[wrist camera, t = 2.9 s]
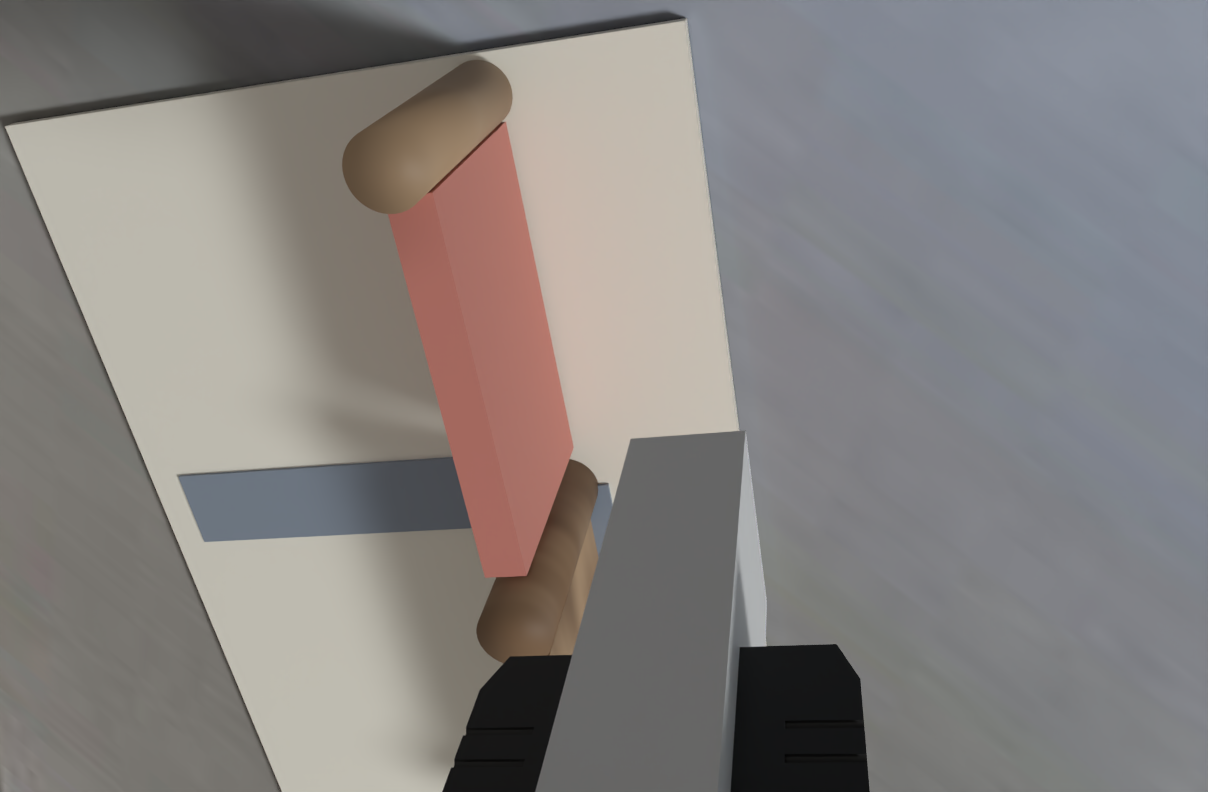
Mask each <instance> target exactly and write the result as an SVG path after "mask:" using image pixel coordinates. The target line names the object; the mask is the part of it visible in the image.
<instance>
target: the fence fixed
mask: <svg viewBox="0 0 1208 792" xmlns="http://www.w3.org/2000/svg"><path fill="white" fill-rule="evenodd" d="M597 496H598V481H597V479H596V477H595V475H594V473H593V472H592V471H591V470H590V469H589V468H588V467H587V466H585V465H584V464H582V463H580V462H578V461H575V460H572V459H569V462H568V465H567V467H566V470H565V473H564V476H563V478H562V481H561V484H560V486H559V489H558V492H557V495H556V497H555V500H554V503H553V506H552V508H551V511H550V514H549V516H548V519H547V522H546V525H545V527H544V530H543V533H542V536H541V538H540V541H539V544H538V546H537V549H536V552H535V555H534V557H533V560H532V563H531V566H530V568H529V571H528V574H527V576H515V577H496V579H495V581H494V584H493V586H492V589H491V591H490V594H489V596H488V599H487V601H486V603H485V606H484V608H483V611H482V613H481V616H480V618H479V621H478V623H477V628H476V634H477V638H478V641H479V643H480V645H481V647H482V648H483V649H484V650H485V652H486V653H487V654H489V655H490V656H491V657H492V658H494V659H496V660H497V661H499V662H501V663H504V662H505V661H506V660H507V659H508V658H509V657H510V656H545V655H572V654H573V650H574V647H575V643H576V639H577V635H578V632H579V628H580V624H581V621H582V617H583V613H584V610H585V606H586V602H587V598H588V595H589V591H590V587H591V584H592V580H593V576H594V573H595V569H596V565H597V561H598V558H599V557H598V552H597V547H596V543H595V538H594V533H593V528H592V523H591V516H592V513H593V509H594V506H595V503H596V499H597Z"/></svg>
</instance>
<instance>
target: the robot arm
mask: <svg viewBox="0 0 1208 792" xmlns="http://www.w3.org/2000/svg"><path fill="white" fill-rule="evenodd" d="M766 613H767V599H766V591H765V583H764V575H763V567H762V559H761V551H760V543H759V535H758V527H757V519H756V511H755V503H754V495H753V486H752V478H751V470H750V462H749V454H748V446H747V438H746V430H745V431H732V432H718V433H704V434H690V435H676V436H662V437H648V438H634V439H630V443H629V447H628V450H627V454H626V458H625V462H624V465H623V469H622V473H621V476H620V480H619V484H618V487H617V491H616V495H615V499H614V502H613V506H612V510H611V513H610V517H609V521H608V524H607V528H606V532H605V536H604V539H603V543H602V547H601V550H600V554H599V558H598V561H597V565H596V569H595V573H594V576H593V580H592V584H591V587H590V591H589V595H588V598H587V602H586V606H585V610H584V613H583V617H582V621H581V624H580V628H579V632H578V635H577V639H576V643H575V647H574V650H573V654H572V655H545V656H510V657H509V658H508V659H507V660H506V661H505V662H504V663H503V665H502V666H501V667H500V668H499V669H498V670H497V671H496V672H495V673H494V675H493V676H492V677H491V678H490V679H489V680H488V681H487V682H486V683H485V685H484V686H483V687H482V688H481V689H480V690H479V693H478V696H477V699H476V701H475V704H474V707H473V709H472V712H471V715H470V718H469V720H468V723H467V726H466V735H463V737H462V739H461V742H460V745H459V747H458V750H457V753H456V756H455V758H454V767H451V769H450V772H449V775H448V777H447V780H446V783H445V785H444V788H443V791H442V792H870V791H869V779H868V767H867V755H866V743H865V731H864V719H863V707H862V695H861V683H860V678H859V676H858V675H857V674H856V672H855V671H854V669H853V668H852V666H851V665H850V663H849V662H848V660H847V659H846V657H845V656H844V655H843V653H842V652H841V650H840V649H839V647H838V646H837V644H832V645H796V646H765V644H766Z"/></svg>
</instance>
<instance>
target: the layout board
mask: <svg viewBox="0 0 1208 792" xmlns="http://www.w3.org/2000/svg"><path fill="white" fill-rule="evenodd" d="M470 60H483V61H487V62H490V63H492V64H494V65H495V66H497V67H498V68H499V69H500V70H501V71H502V72H503V73H504V74H505V75H506V77H507V79H508V80H509V83H510V85H511V89H512V94H513V100H512V106H511V109H510V112H509V113H508V115H507V117H506V118H505V119H504V120H503V121H502V122H506V124H507V129H508V134H509V139H510V144H511V148H512V153H513V158H514V163H515V168H516V172H517V177H518V182H519V187H520V192H521V196H522V201H523V206H524V211H525V216H526V220H527V225H528V230H529V235H530V240H531V245H532V249H533V254H534V259H535V264H536V269H537V273H538V278H539V283H540V288H541V293H542V297H543V302H544V307H545V312H546V317H547V321H548V326H549V331H550V336H551V341H552V345H553V350H554V355H555V360H556V365H557V369H558V374H559V379H560V384H561V389H562V393H563V398H564V403H565V408H566V413H567V418H568V422H569V427H570V432H571V437H572V442H573V446H574V448H573V451H572V454H571V456H570V459H572V460H575V461H578V462H580V463H582V464H584V465H585V466H587V467H588V468H589V469H590V470H591V471H592V472H593V473H594V475H595V477H596V479H597V481H598V496H597V499H596V503H595V506H594V509H593V513H592V516H591V523H592V528H593V533H594V538H595V543H596V547H597V552H598V557H599V554H600V550H601V547H602V543H603V539H604V536H605V532H606V528H607V524H608V521H609V517H610V513H611V510H612V506H613V502H614V499H615V495H616V491H617V487H618V484H619V480H620V476H621V473H622V469H623V465H624V462H625V458H626V454H627V450H628V447H629V443H630V439H634V438H648V437H662V436H676V435H690V434H704V433H718V432H732V431H739V423H738V416H737V408H736V400H735V392H734V384H733V376H732V369H731V361H730V353H729V345H728V337H727V329H726V322H725V314H724V306H723V298H722V290H721V282H720V275H719V267H718V259H717V251H716V243H715V235H714V228H713V220H712V212H711V204H710V196H709V189H708V181H707V173H706V165H705V157H704V149H703V142H702V134H701V126H700V118H699V110H698V102H697V95H696V87H695V79H694V71H693V63H692V55H691V48H690V40H689V32H688V24H687V18H684V19H677V20H671V21H665V22H658V23H652V24H645V25H639V26H633V27H626V28H620V29H613V30H607V31H600V32H594V33H588V34H581V35H575V36H568V37H562V38H556V39H549V40H543V41H536V42H530V43H523V44H517V45H511V46H504V47H498V48H491V49H485V50H479V51H472V52H466V53H459V54H453V55H446V56H440V57H434V58H427V59H421V60H414V61H408V62H402V63H395V64H389V65H382V66H376V67H369V68H363V69H357V70H350V71H344V72H337V73H331V74H325V75H318V76H312V77H305V78H299V79H292V80H286V81H280V82H273V83H267V84H260V85H254V86H248V87H241V88H235V89H228V90H222V91H215V92H209V93H203V94H196V95H190V96H183V97H177V98H171V99H164V100H158V101H151V102H145V103H139V104H132V105H126V106H119V107H113V108H106V109H100V110H94V111H87V112H81V113H74V114H68V115H62V116H55V117H49V118H42V119H36V120H29V121H23V122H17V123H13V124H10V125H7V126H5V128H6V130H7V133H8V135H9V137H10V140H11V142H12V145H13V147H14V149H15V152H16V154H17V157H18V159H19V162H20V164H21V166H22V169H23V171H24V174H25V176H26V178H27V181H28V183H29V186H30V188H31V190H32V193H33V195H34V198H35V200H36V202H37V205H38V207H39V210H40V212H41V214H42V217H43V219H44V222H45V224H46V226H47V229H48V231H49V234H50V236H51V238H52V241H53V243H54V246H55V248H56V250H57V253H58V255H59V258H60V260H61V262H62V265H63V267H64V270H65V272H66V274H67V277H68V279H69V282H70V284H71V286H72V289H73V291H74V294H75V296H76V298H77V301H78V303H79V306H80V308H81V310H82V313H83V315H84V318H85V320H86V322H87V325H88V327H89V330H90V332H91V334H92V337H93V339H94V342H95V344H96V346H97V349H98V351H99V354H100V356H101V358H102V361H103V363H104V366H105V368H106V370H107V373H108V375H109V378H110V380H111V382H112V385H113V387H114V390H115V392H116V394H117V397H118V399H119V402H120V404H121V406H122V409H123V411H124V414H125V416H126V418H127V421H128V423H129V426H130V428H131V430H132V433H133V435H134V438H135V440H136V442H137V445H138V447H139V450H140V452H141V454H142V457H143V459H144V462H145V464H146V466H147V469H148V471H149V474H150V476H151V479H152V481H153V483H154V486H155V488H156V491H157V493H158V495H159V498H160V500H161V503H162V505H163V507H164V510H165V512H166V515H167V517H168V519H169V522H170V524H171V527H172V529H173V531H174V534H175V536H176V539H177V541H178V543H179V546H180V548H181V551H182V553H183V555H184V558H185V560H186V563H187V565H188V567H189V570H190V572H191V575H192V577H193V579H194V582H195V584H196V587H197V589H198V591H199V594H200V596H201V599H202V601H203V603H204V606H205V608H206V611H207V613H208V615H209V618H210V620H211V623H212V625H213V627H214V630H215V632H216V635H217V637H218V639H219V642H220V644H221V647H222V649H223V651H224V654H225V656H226V659H227V661H228V663H229V666H230V668H231V671H232V673H233V675H234V678H235V680H236V683H237V685H238V687H239V690H240V692H241V695H242V697H243V699H244V702H245V704H246V707H247V709H248V711H249V714H250V716H251V719H252V721H253V723H254V726H255V728H256V731H257V733H258V735H259V738H260V740H261V743H262V745H263V747H264V750H265V752H266V755H267V757H268V759H269V762H270V764H271V767H272V769H273V771H274V774H275V776H276V779H277V781H278V783H279V786H280V788H281V791H282V792H442V791H443V788H444V785H445V783H446V780H447V777H448V775H449V772H450V769H451V767H454V758H455V756H456V753H457V750H458V747H459V745H460V742H461V739H462V737H463V735H466V726H467V723H468V720H469V718H470V715H471V712H472V709H473V707H474V704H475V701H476V699H477V696H478V693H479V690H480V689H481V688H482V687H483V686H484V685H485V683H486V682H487V681H488V680H489V679H490V678H491V677H492V676H493V675H494V673H495V672H496V671H497V670H498V669H499V668H500V667H501V666H502V665H503V663H501V662H499V661H497V660H496V659H494V658H492V657H491V656H490V655H489V654H487V653H486V652H485V650H484V649H483V648H482V647H481V645H480V643H479V641H478V638H477V634H476V628H477V623H478V621H479V618H480V616H481V613H482V611H483V608H484V606H485V603H486V601H487V599H488V596H489V594H490V591H491V589H492V586H493V584H494V581H495V579H496V577H490V578H485V576H484V572H483V568H482V565H481V561H480V557H479V553H478V550H477V546H476V542H475V539H474V535H473V531H472V527H471V524H470V520H469V516H468V512H467V509H466V505H465V501H464V497H463V494H462V490H461V486H460V482H459V479H458V475H457V471H456V467H455V464H454V460H453V456H452V452H451V449H450V445H449V441H448V437H447V434H446V430H445V426H444V423H443V419H442V415H441V411H440V408H439V404H438V400H437V396H436V393H435V389H434V385H433V381H432V378H431V374H430V370H429V366H428V363H427V359H426V355H425V351H424V348H423V344H422V340H421V336H420V333H419V329H418V325H417V321H416V318H415V314H414V310H413V307H412V303H411V299H410V295H409V292H408V288H407V284H406V280H405V277H404V273H403V269H402V265H401V262H400V258H399V254H398V250H397V247H396V243H395V239H394V235H393V232H392V228H391V224H390V220H389V217H388V214H384V213H379V212H376V211H373V210H371V209H369V208H368V207H366V206H364V205H363V204H362V203H360V202H359V201H358V200H357V199H356V198H355V197H354V195H353V194H352V193H351V191H350V190H349V188H348V186H347V184H346V182H345V179H344V176H343V170H342V159H343V154H344V151H345V148H346V146H347V144H348V143H349V141H350V140H351V139H352V138H353V137H354V136H355V135H356V134H358V133H359V132H361V131H362V130H364V129H365V128H367V127H368V126H370V125H371V124H373V123H374V122H376V121H377V120H379V119H380V118H382V117H383V116H385V115H386V114H387V113H389V112H390V111H392V110H393V109H395V108H396V107H398V106H399V105H401V104H402V103H404V102H405V101H407V100H408V99H410V98H411V97H413V96H414V95H416V94H417V93H419V92H420V91H422V90H423V89H425V88H426V87H428V86H429V85H431V84H432V83H434V82H435V81H437V80H438V79H440V78H441V77H443V76H444V75H446V74H447V73H449V72H450V71H452V70H453V69H455V68H456V67H458V66H459V65H461V64H462V63H464V62H467V61H470ZM765 646H767V643H766V644H765Z"/></svg>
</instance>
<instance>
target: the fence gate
mask: <svg viewBox="0 0 1208 792" xmlns="http://www.w3.org/2000/svg"><path fill="white" fill-rule="evenodd" d="M512 100H513V94H512V89H511V85H510V83H509V80H508V79H507V77H506V75H505V74H504V73H503V72H502V71H501V70H500V69H499V68H498V67H497V66H495V65H494V64H492V63H490V62H487V61H483V60H470V61H467V62H464V63H462V64H461V65H459V66H458V67H456V68H455V69H453V70H452V71H450V72H449V73H447V74H446V75H444V76H443V77H441V78H440V79H438V80H437V81H435V82H434V83H432V84H431V85H429V86H428V87H426V88H425V89H423V90H422V91H420V92H419V93H417V94H416V95H414V96H413V97H411V98H410V99H408V100H407V101H405V102H404V103H402V104H401V105H399V106H398V107H396V108H395V109H393V110H392V111H390V112H389V113H387V114H386V115H385V116H383V117H382V118H380V119H379V120H377V121H376V122H374V123H373V124H371V125H370V126H368V127H367V128H365V129H364V130H362V131H361V132H359V133H358V134H356V135H355V136H354V137H353V138H352V139H351V140H350V141H349V143H348V144H347V146H346V148H345V151H344V154H343V159H342V170H343V176H344V179H345V182H346V184H347V186H348V188H349V190H350V191H351V193H352V194H353V195H354V197H355V198H356V199H357V200H358V201H359V202H360V203H362V204H363V205H364V206H366V207H368V208H369V209H371V210H373V211H376V212H379V213H384V214H388V217H389V220H390V224H391V228H392V232H393V235H394V239H395V243H396V247H397V250H398V254H399V258H400V262H401V265H402V269H403V273H404V277H405V280H406V284H407V288H408V292H409V295H410V299H411V303H412V307H413V310H414V314H415V318H416V321H417V325H418V329H419V333H420V336H421V340H422V344H423V348H424V351H425V355H426V359H427V363H428V366H429V370H430V374H431V378H432V381H433V385H434V389H435V393H436V396H437V400H438V404H439V408H440V411H441V415H442V419H443V423H444V426H445V430H446V434H447V437H448V441H449V445H450V449H451V452H452V456H453V460H454V464H455V467H456V471H457V475H458V479H459V482H460V486H461V490H462V494H463V497H464V501H465V505H466V509H467V512H468V516H469V520H470V524H471V527H472V531H473V535H474V539H475V542H476V546H477V550H478V553H479V557H480V561H481V565H482V568H483V572H484V576H485V578H490V577H515V576H527V574H528V571H529V568H530V566H531V563H532V560H533V557H534V555H535V552H536V549H537V546H538V544H539V541H540V538H541V536H542V533H543V530H544V527H545V525H546V522H547V519H548V516H549V514H550V511H551V508H552V506H553V503H554V500H555V497H556V495H557V492H558V489H559V486H560V484H561V481H562V478H563V476H564V473H565V470H566V467H567V465H568V462H569V459H570V456H571V454H572V451H573V448H574V446H573V442H572V437H571V432H570V427H569V422H568V418H567V413H566V408H565V403H564V398H563V393H562V389H561V384H560V379H559V374H558V369H557V365H556V360H555V355H554V350H553V345H552V341H551V336H550V331H549V326H548V321H547V317H546V312H545V307H544V302H543V297H542V293H541V288H540V283H539V278H538V273H537V269H536V264H535V259H534V254H533V249H532V245H531V240H530V235H529V230H528V225H527V220H526V216H525V211H524V206H523V201H522V196H521V192H520V187H519V182H518V177H517V172H516V168H515V163H514V158H513V153H512V148H511V144H510V139H509V134H508V129H507V124H506V122H502V121H503V120H504V119H505V118H506V117H507V115H508V113H509V112H510V109H511V106H512Z"/></svg>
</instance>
